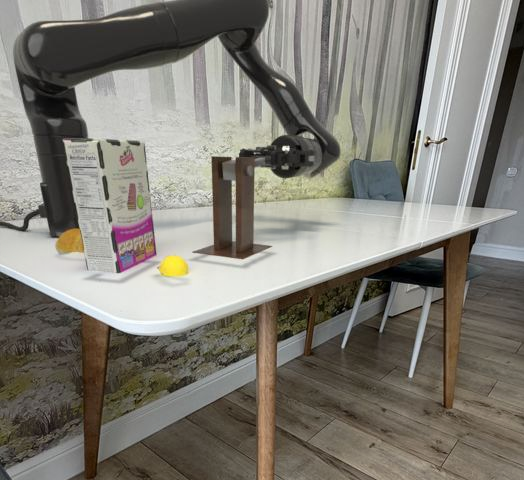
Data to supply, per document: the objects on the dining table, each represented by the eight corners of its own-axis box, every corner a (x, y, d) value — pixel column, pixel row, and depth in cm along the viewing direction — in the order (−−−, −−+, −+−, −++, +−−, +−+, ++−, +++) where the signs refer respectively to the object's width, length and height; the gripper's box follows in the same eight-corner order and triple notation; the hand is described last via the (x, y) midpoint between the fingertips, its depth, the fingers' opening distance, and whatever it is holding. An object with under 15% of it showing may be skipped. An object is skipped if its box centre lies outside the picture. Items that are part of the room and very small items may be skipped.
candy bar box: (128, 260, 61) (113, 140, 54) (158, 262, 60) (147, 141, 53) (85, 279, 51) (59, 136, 44) (120, 282, 50) (100, 136, 43)
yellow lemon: (178, 286, 49) (164, 260, 47) (155, 289, 53) (141, 265, 52) (197, 274, 51) (184, 248, 49) (174, 277, 55) (161, 254, 54)
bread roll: (104, 261, 60) (100, 234, 58) (49, 258, 60) (43, 231, 59) (127, 250, 67) (125, 226, 65) (78, 247, 68) (73, 223, 66)
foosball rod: (252, 166, 70) (252, 151, 68) (278, 167, 68) (278, 152, 67) (215, 179, 60) (213, 162, 58) (244, 181, 58) (243, 163, 57)
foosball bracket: (226, 247, 71) (225, 156, 65) (272, 253, 68) (275, 158, 61) (192, 259, 62) (186, 155, 56) (242, 267, 59) (243, 157, 52)
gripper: (260, 135, 80) (218, 132, 66) (329, 135, 75) (299, 132, 61) (260, 175, 83) (220, 180, 69) (325, 178, 78) (296, 185, 64)
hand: (257, 158), depth 65 cm, fingers closed on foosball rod, 5 cm apart
